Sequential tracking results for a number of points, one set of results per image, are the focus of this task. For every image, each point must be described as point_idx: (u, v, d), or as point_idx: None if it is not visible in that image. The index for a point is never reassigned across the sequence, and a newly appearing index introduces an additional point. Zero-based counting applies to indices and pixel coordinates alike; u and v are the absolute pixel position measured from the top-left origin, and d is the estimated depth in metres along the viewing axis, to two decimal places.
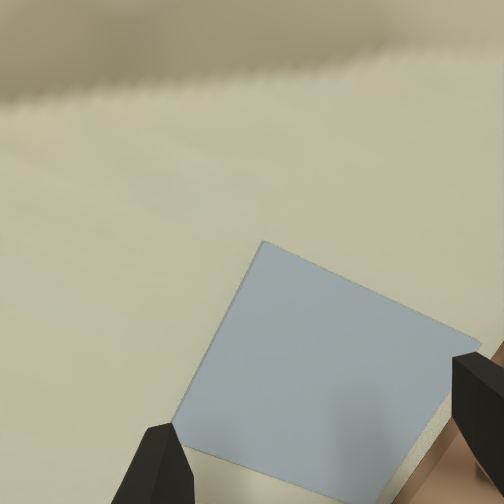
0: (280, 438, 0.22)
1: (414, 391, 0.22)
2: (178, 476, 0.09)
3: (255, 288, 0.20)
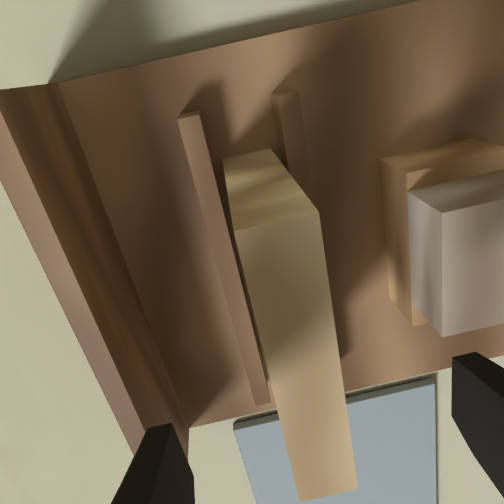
0: (399, 473, 0.27)
1: None
2: (178, 476, 0.09)
3: None
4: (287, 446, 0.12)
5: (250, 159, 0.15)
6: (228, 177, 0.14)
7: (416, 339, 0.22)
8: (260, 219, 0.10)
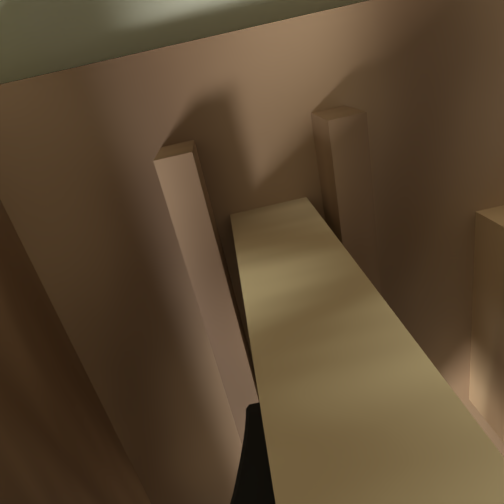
0: None
1: None
2: None
3: None
4: None
5: (278, 222, 0.09)
6: (245, 269, 0.08)
7: (500, 449, 0.15)
8: (354, 495, 0.03)
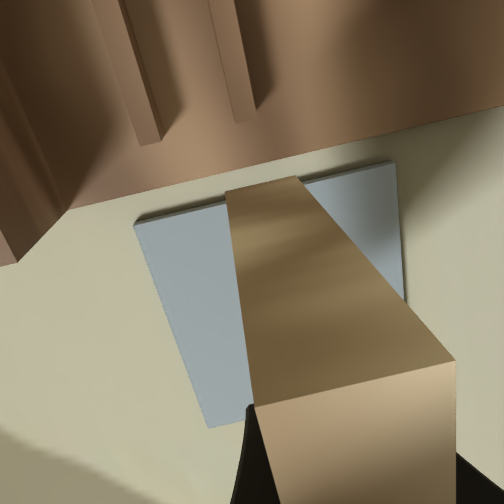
0: None
1: (229, 241, 0.19)
2: None
3: (243, 411, 0.23)
4: None
5: (268, 195, 0.10)
6: (235, 230, 0.08)
7: (364, 74, 0.16)
8: (314, 369, 0.04)
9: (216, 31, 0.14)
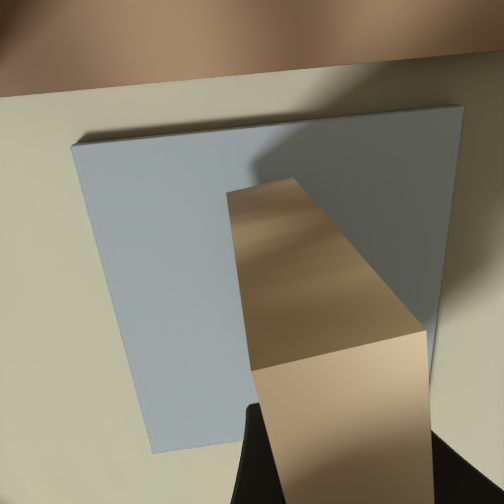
0: None
1: (212, 191, 0.13)
2: None
3: (203, 435, 0.17)
4: None
5: (267, 195, 0.11)
6: (236, 226, 0.09)
7: None
8: (303, 339, 0.05)
9: None
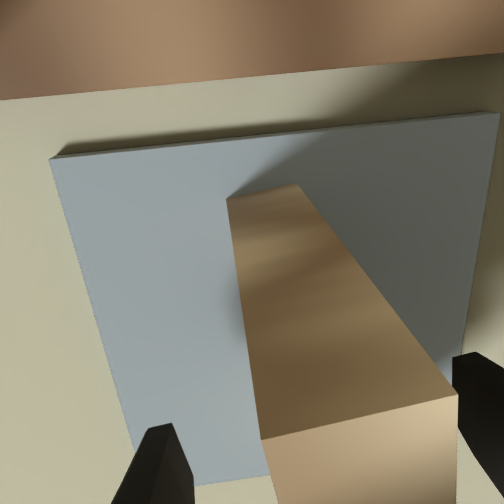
0: None
1: (212, 209, 0.11)
2: (178, 476, 0.09)
3: (202, 473, 0.16)
4: None
5: (269, 204, 0.10)
6: (238, 243, 0.08)
7: None
8: (319, 400, 0.04)
9: None
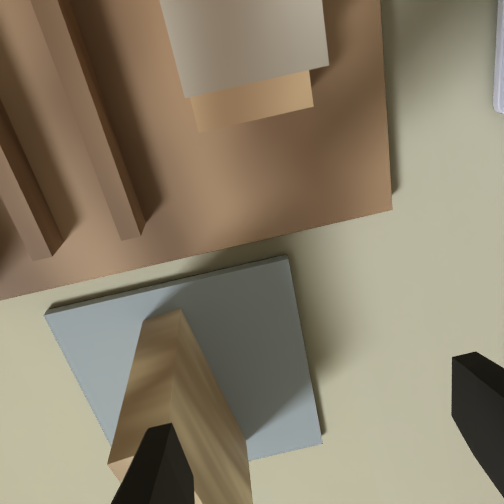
0: (265, 382, 0.23)
1: (136, 327, 0.20)
2: (178, 476, 0.09)
3: None
4: None
5: (160, 329, 0.19)
6: (134, 362, 0.17)
7: (247, 188, 0.17)
8: (128, 449, 0.13)
9: (94, 167, 0.15)
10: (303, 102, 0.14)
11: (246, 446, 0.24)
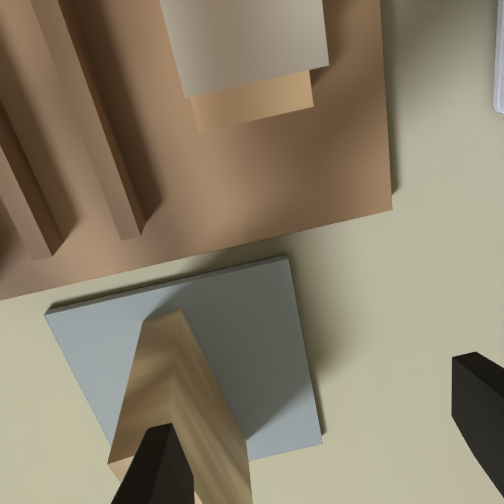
0: (265, 382, 0.23)
1: (136, 327, 0.20)
2: (178, 476, 0.09)
3: None
4: None
5: (160, 329, 0.19)
6: (134, 362, 0.17)
7: (247, 188, 0.17)
8: (128, 449, 0.13)
9: (94, 167, 0.15)
10: (303, 102, 0.14)
11: (246, 446, 0.24)
